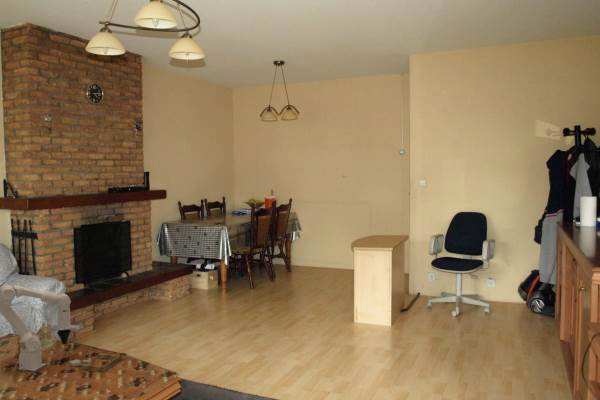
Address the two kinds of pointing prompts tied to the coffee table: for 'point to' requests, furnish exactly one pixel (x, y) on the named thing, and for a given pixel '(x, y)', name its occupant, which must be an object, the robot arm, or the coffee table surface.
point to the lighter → (79, 362)
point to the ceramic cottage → (42, 338)
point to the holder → (104, 368)
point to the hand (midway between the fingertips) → (64, 344)
